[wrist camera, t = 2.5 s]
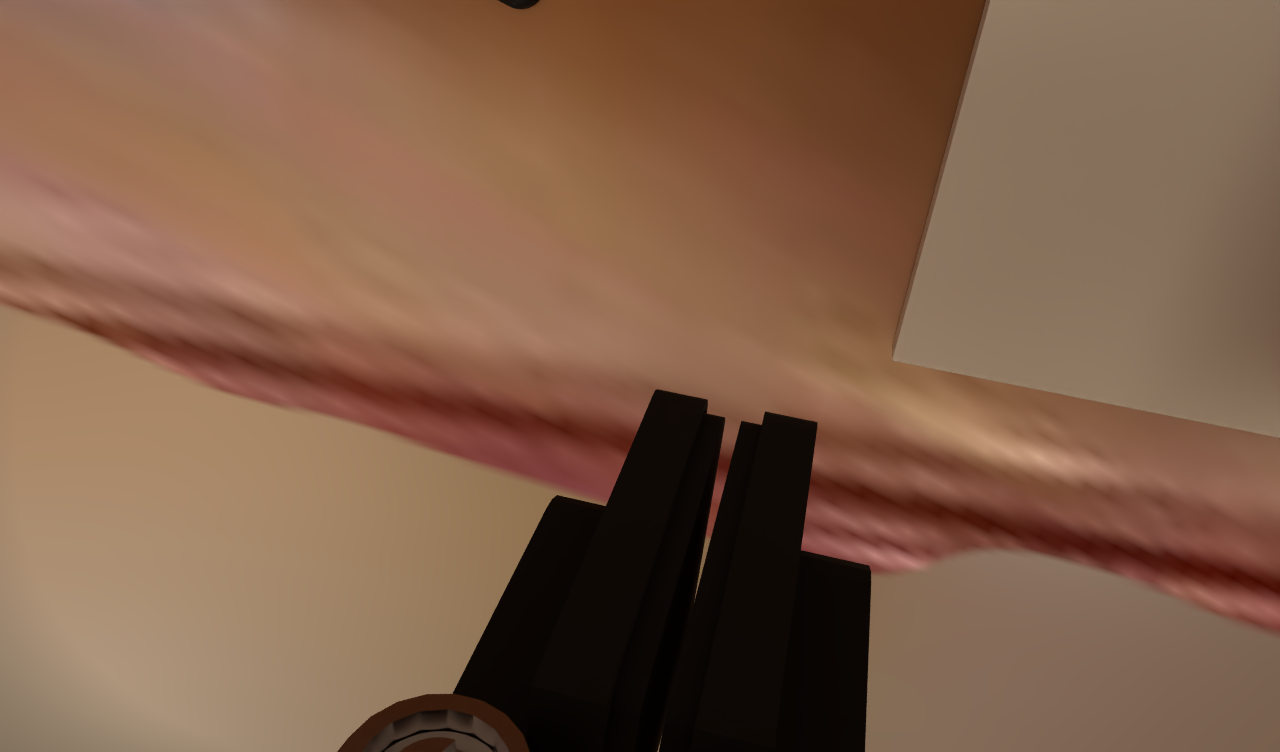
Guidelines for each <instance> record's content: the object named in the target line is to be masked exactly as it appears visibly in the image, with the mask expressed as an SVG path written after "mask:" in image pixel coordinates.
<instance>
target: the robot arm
mask: <svg viewBox="0 0 1280 752" xmlns="http://www.w3.org/2000/svg"><path fill="white" fill-rule="evenodd" d="M707 407H708V400H707V399H702V398H697V397H692V396H687V395H683V394H678V393H673V392H668V391H663V390H658V389H657V390H655V392H654V394H653V396H652V398H651V401H650V403H649V405H648V408H647V410H646V413H645V415H644V417H643V420H642V422H641V424H640V427H639V429H638V432H637V434H636V436H635V439H634V441H633V443H632V446H631V448H630V450H629V453H628V455H627V458H626V460H625V462H624V465H623V467H622V469H621V472H620V474H619V477H618V479H617V481H616V484H615V486H614V488H613V491H612V493H611V496H610V498H609V500H608V503H607V505H606V506H603V505H598V504H594V503H589V502H585V501H581V500H576V499H572V498H567V497H563V496H558V495H557V496H555V497H554V498H553V499H552V500H551V502H550V503H549V505H548V507H547V508H546V510H545V512H544V514H543V517H542V518H541V520H540V522H539V524H538V526H537V528H536V530H535V532H534V534H533V536H532V538H531V540H530V542H529V544H528V546H527V548H526V550H525V552H524V554H523V556H522V558H521V560H520V562H519V563H518V566H517V568H516V569H515V572H514V574H513V575H512V577H511V579H510V582H509V583H508V585H507V587H506V589H505V591H504V593H503V595H502V597H501V599H500V601H499V603H498V605H497V607H496V609H495V611H494V613H493V615H492V617H491V619H490V621H489V623H488V625H487V627H486V629H485V631H484V633H483V635H482V637H481V639H480V641H479V643H478V645H477V646H476V649H475V651H474V652H473V655H472V656H471V659H470V660H469V662H468V664H467V666H466V668H465V670H464V672H463V674H462V676H461V678H460V680H459V682H458V684H457V686H456V688H455V690H454V692H453V694H426V695H422V696H418V697H415V698H411V699H407V700H403V701H399V702H396V703H395V704H393V705H391V706H389V707H387V708H385V709H384V710H382V711H380V712H378V713H376V714H374V715H373V716H371V717H370V718H369V719H368V720H367V721H366V722H365V723H363V725H361V726H360V727H359V728H358V729H357V730H356V731H355V732H354V733H353V734H352V735H351V736H350V737H349V738H348V739H347V740H346V742H345V743H344V744H343V745H342V747H341V748H340V749H339V750H338V752H657V751H658V747H659V744H660V749H659V752H865V732H866V706H867V705H866V703H867V679H868V652H869V626H870V625H869V624H870V599H871V570H870V566H868V565H864V564H859V563H855V562H850V561H846V560H842V559H837V558H833V557H828V556H824V555H819V554H815V553H811V552H806V551H802V550H801V544H802V537H803V529H804V522H805V514H806V507H807V500H808V492H809V485H810V477H811V470H812V462H813V455H814V447H815V440H816V432H817V422H814V421H809V420H804V419H799V418H794V417H789V416H784V415H780V414H775V413H770V412H765V414H764V418H763V423H762V425H759V424H754V423H749V422H744V421H742V422H741V425H740V428H739V432H738V436H737V440H736V444H735V448H734V452H733V455H732V459H731V463H730V467H729V471H728V475H727V479H726V482H725V486H724V490H723V494H722V498H721V502H720V506H719V509H718V513H717V517H716V521H715V525H714V529H713V533H712V536H711V540H710V544H709V548H708V552H707V556H706V560H705V563H704V567H703V571H702V575H701V579H700V583H699V587H698V591H697V594H696V589H697V583H698V577H699V570H700V565H701V559H702V554H703V547H704V542H705V536H706V530H707V524H708V519H709V513H710V507H711V501H712V495H713V489H714V483H715V478H716V472H717V466H718V460H719V454H720V448H721V443H722V437H723V431H724V425H725V417H720V416H715V415H711V414H707ZM695 594H696V598H695ZM694 600H695V602H694ZM661 736H662V737H661ZM660 740H661V743H660Z"/></svg>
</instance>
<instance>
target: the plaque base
mask: <svg viewBox="0 0 1280 752" xmlns="http://www.w3.org/2000/svg"><path fill="white" fill-rule="evenodd" d="M892 361H896V362H901V363H906V364H911V365H916V366H921V367H926V368H931V369H936V370H941V371H946V372H951V373H956V374H961V375H967V376H972V377H977V378H982V379H987V380H992V381H997V382H1002V383H1007V384H1012V385H1017V386H1022V387H1027V388H1032V389H1037V390H1042V391H1047V392H1052V393H1057V394H1062V395H1067V396H1072V397H1077V398H1082V399H1087V400H1092V401H1097V402H1102V403H1107V404H1112V405H1117V406H1122V407H1127V408H1132V409H1137V410H1142V411H1147V412H1152V413H1157V414H1162V415H1167V416H1172V417H1177V418H1182V419H1187V420H1192V421H1197V422H1202V423H1207V424H1212V425H1217V426H1222V427H1227V428H1232V429H1237V430H1242V431H1247V432H1252V433H1257V434H1262V435H1267V436H1272V437H1277V438H1280V0H986V2H985V6H984V10H983V13H982V17H981V21H980V24H979V28H978V32H977V35H976V39H975V43H974V46H973V50H972V54H971V58H970V61H969V65H968V69H967V72H966V76H965V80H964V83H963V87H962V91H961V94H960V98H959V102H958V106H957V109H956V113H955V117H954V120H953V124H952V128H951V131H950V135H949V139H948V142H947V146H946V150H945V154H944V157H943V161H942V165H941V168H940V172H939V176H938V179H937V183H936V187H935V190H934V194H933V198H932V202H931V205H930V209H929V213H928V216H927V220H926V224H925V227H924V231H923V235H922V238H921V242H920V246H919V250H918V253H917V257H916V261H915V264H914V268H913V272H912V275H911V279H910V283H909V286H908V290H907V294H906V298H905V301H904V305H903V309H902V312H901V316H900V320H899V323H898V327H897V331H896V334H895V338H894V342H893V349H892Z"/></svg>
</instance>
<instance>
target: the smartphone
mask: <svg viewBox="0 0 1280 752" xmlns="http://www.w3.org/2000/svg"><path fill="white" fill-rule="evenodd" d="M498 1H500V2H502V3H504V4H506V5H508V6H510V7H512V8H516V9H525V8H528V7H531V6H532V5H534V4H535V3H536V2H537V1H538V0H498Z"/></svg>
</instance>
